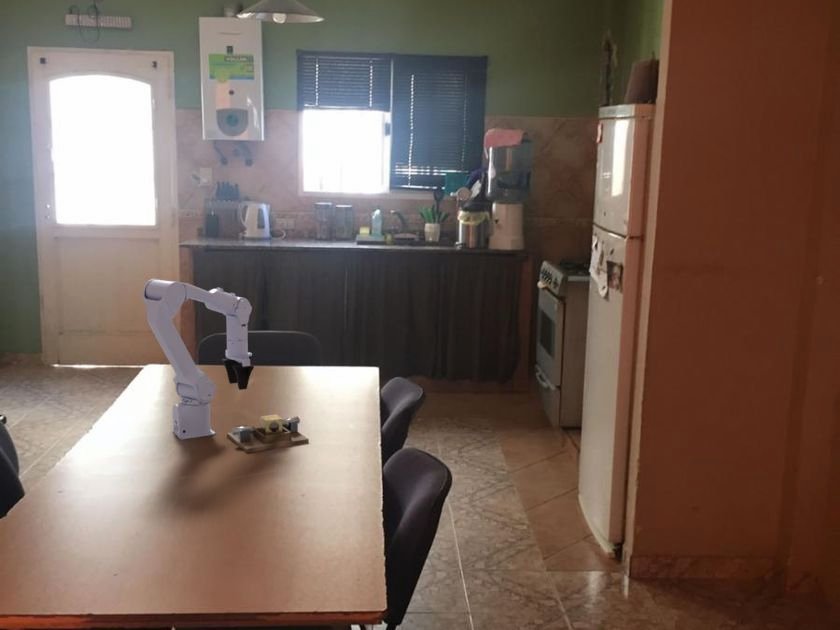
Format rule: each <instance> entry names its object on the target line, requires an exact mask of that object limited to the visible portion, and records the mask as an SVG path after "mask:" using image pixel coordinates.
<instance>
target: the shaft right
mask: <svg viewBox="0 0 840 630" xmlns="http://www.w3.org/2000/svg"><path fill="white" fill-rule="evenodd" d="M300 422H301V419H300V417H299V416H294V417H287V418H284V419H282V426H283V427H284V428H286V429H287V430H289V431H290V432H291V434H293V433H296V432H299V429H298V428H299V427H298V425H299V424H300Z"/></svg>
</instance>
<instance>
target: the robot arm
mask: <svg viewBox="0 0 840 630" xmlns="http://www.w3.org/2000/svg"><path fill="white" fill-rule="evenodd" d="M141 298H142V300H143V302H144V304H145V308H146V309H145V311H146V318H147V323H148V326H149V328H150V329H151V331H152V334H153V335H154V337H155V339H156V340H157V342H158V344H159V346H160V347H161V349H162V351H163V353H164V355H165V356H166V358H167V360H168V362H169V363H170V366H171V368H172V369H173V371H174V373H175V375H174V377H173V378H172V382H174V385H175V387H174V388H175V393H176V395H178V396H179V398H180V403H176V404H174V405H173V407H172V428H173V429H172V433H173V434H175V436H176V437H177V438H178V439H179V440H180V441H181V440H188V439H195V438H202V437H208V436H215V435H216V432H215V431H214V430H213V429H212V428H211V404H210V403H211V402H212V400H213V398H214V397H215V394H216V391H217V389H216V384H215V382H214V381H213V380H211V379H209V378H208V376H207V374H205V373H204V372H203V371H202V370H201V369H199V368H198V367H197V366H196V364H195V362H194V360H193V358H192V356H191V353H190V351H189V350H188V348H187V346H186V345H185V343H184V341H183V339H182V337H181V335H180V333H179V331H178V330H177V328H176V326H175V323H174V322H173V319H174V318H175V317H176V315H177V314H178V312H179V310H180V309H181V307H182V305H183V303H184V302H187V301H188V300H189V299H190V300H193V301H198V302H201V303H203V304H204V306H205V307H206V308H207V309H208V310H211V311H214V312H217V313H221V314H223V316H225V318H226V349H225V357H226V358H222V359H221V362H222V364H223V366H224V368H225V371H226V374H227V378H228V382H229V384H237V386H238V389H239V390H240V391H243V390H248V389H247V388H248V385H249V381H250V378H251V377H250V376H251V374H252V372H253V370H254V368H255V365H254V364H251V359H250V358H249V357H252V356H253V353H252V352H250V351H249V349H248V348H249V346H248V345H249V344H248V341H249V340H248V336H249V335H248V324H249V321H250V315H251V313H252V310H253V306H251V303H250V301H249V299H247V298H246V297H243V296H242V297H241V296H237V295H236V293H234V292H230V293H229V292H226V291H224V288H221V287H216V288H212V289H210V290H205V289H203V288H201V287H198V286H195V285H193V284H190V283H186V282H182V281H181V282H179V281H173V280H162V279H159V278H152V279H149V280H148V281H147V282H146V283H145V285H144V287H143V290H142V294H141Z"/></svg>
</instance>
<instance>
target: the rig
mask: <svg viewBox="0 0 840 630" xmlns="http://www.w3.org/2000/svg"><path fill="white" fill-rule="evenodd" d="M226 438H228V439H229V440H231V441H232V442H233V443H234V444H235V445H237V446H238V447H239V448H240V449H241V450H243V451H244V452H245V453H247V454H248V453H253V452H259V451H260V452H261V451H265V450H271V449H273V450H274V449H279V448H283V447H285V448H286V447H291V446H296V445H297V446H298V445H302V444H303V445H304V444H309V438H308V437H306V436H305V435H304V434H302V433H300V432H299V431H298V432H296V433H293V434H291V432H290V431H289V430H287V429H286V428H284V427H283V426H282V433H278V434H272V435H266V436H265V435H263V434H262V433H261V432H260V427H255V434H251V442H243V443H240V440H239V435H233V434H232V431H231V432H226Z"/></svg>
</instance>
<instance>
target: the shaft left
mask: <svg viewBox="0 0 840 630" xmlns="http://www.w3.org/2000/svg"><path fill="white" fill-rule="evenodd" d="M255 428H256V426H255V425H250V426H249V425H243V426H242V425H240V426H237V427H231V432H232V434H233V435H239V440H240V443H243V442H251V434H255Z"/></svg>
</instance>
